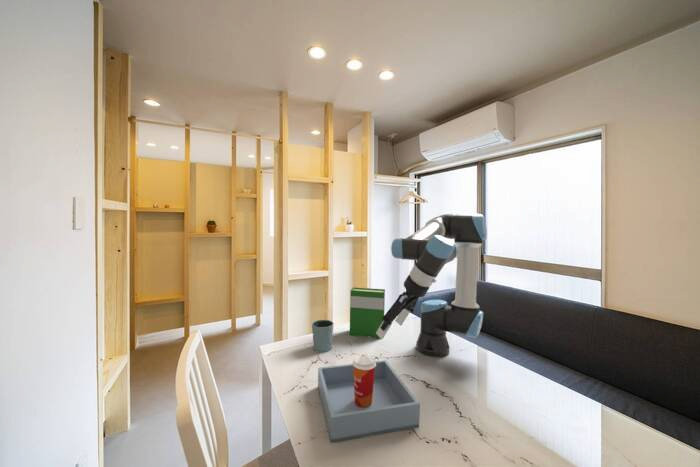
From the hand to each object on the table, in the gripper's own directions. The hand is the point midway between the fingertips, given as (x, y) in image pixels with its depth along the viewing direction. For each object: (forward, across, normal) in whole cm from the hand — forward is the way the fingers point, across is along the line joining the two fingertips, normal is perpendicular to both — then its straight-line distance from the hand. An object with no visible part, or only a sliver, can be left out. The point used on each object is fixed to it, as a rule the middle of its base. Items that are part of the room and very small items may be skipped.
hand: (389, 329), depth 94 cm
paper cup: (+20, -11, -8) cm, 24 cm away
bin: (+21, -11, -8) cm, 25 cm away
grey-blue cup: (+41, +11, +24) cm, 49 cm away
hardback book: (+38, +39, +17) cm, 57 cm away
